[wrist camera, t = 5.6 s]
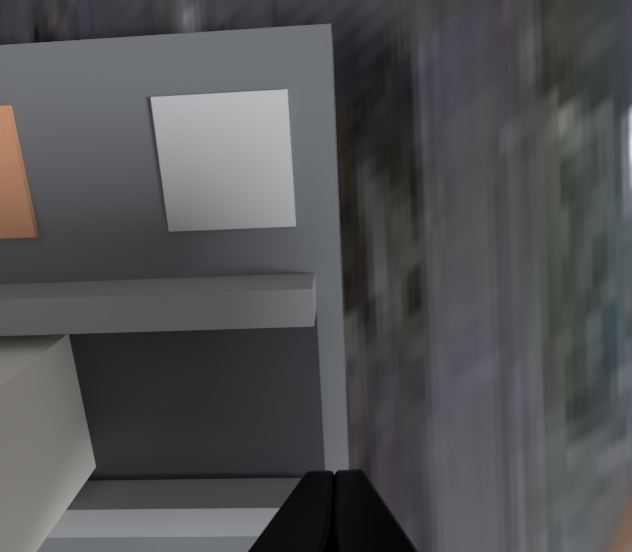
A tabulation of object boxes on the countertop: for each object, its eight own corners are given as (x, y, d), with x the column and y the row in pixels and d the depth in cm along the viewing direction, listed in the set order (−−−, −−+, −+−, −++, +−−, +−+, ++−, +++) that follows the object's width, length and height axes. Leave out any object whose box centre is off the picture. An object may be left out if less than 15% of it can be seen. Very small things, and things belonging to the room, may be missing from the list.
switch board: (352, 563, 15) (356, 690, 12) (55, 564, 16) (-23, 686, 12) (332, 44, 11) (330, 11, 8) (-68, 70, 12) (-235, 48, 8)
